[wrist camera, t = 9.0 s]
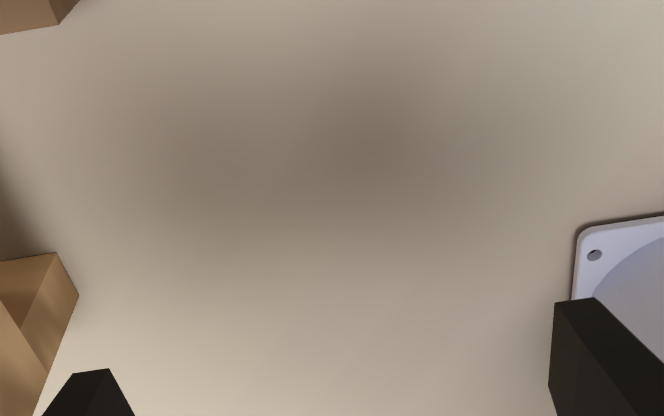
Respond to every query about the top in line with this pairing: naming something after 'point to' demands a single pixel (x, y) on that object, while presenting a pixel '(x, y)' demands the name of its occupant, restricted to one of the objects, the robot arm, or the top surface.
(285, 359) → the top surface
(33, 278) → the rail
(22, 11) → the stepped wooden block
